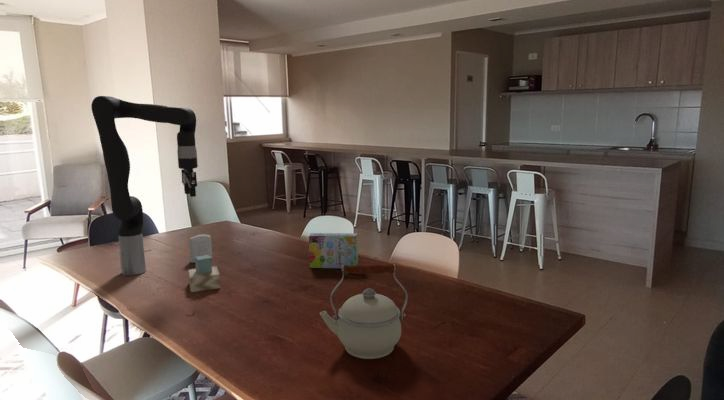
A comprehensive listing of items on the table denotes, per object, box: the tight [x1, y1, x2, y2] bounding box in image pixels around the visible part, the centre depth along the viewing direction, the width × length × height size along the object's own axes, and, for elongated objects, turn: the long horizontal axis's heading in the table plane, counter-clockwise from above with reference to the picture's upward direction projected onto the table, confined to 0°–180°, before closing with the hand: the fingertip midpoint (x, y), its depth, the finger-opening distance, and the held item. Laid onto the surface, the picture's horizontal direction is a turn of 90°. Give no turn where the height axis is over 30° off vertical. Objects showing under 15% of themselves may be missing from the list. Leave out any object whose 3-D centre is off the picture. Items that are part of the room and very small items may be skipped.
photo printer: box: [188, 234, 213, 263], centre depth 216 cm, size 10×4×12 cm, turn 134°
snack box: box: [308, 232, 359, 269], centre depth 204 cm, size 21×6×15 cm, turn 84°
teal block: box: [194, 255, 213, 275], centre depth 182 cm, size 5×5×6 cm
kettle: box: [319, 263, 409, 360], centre depth 130 cm, size 25×18×25 cm
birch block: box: [188, 265, 221, 293], centre depth 183 cm, size 11×11×6 cm
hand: (190, 195), depth 194 cm, fingers open, 8 cm apart
